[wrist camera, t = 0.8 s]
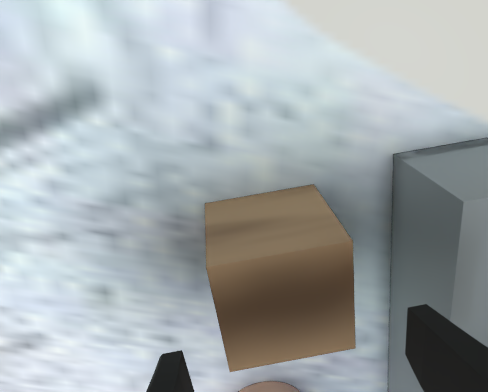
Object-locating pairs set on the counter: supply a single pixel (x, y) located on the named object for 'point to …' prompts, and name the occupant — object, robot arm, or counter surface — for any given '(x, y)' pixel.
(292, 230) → the walnut cube
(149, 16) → the counter surface
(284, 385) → the terracotta cylinder
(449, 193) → the tote
